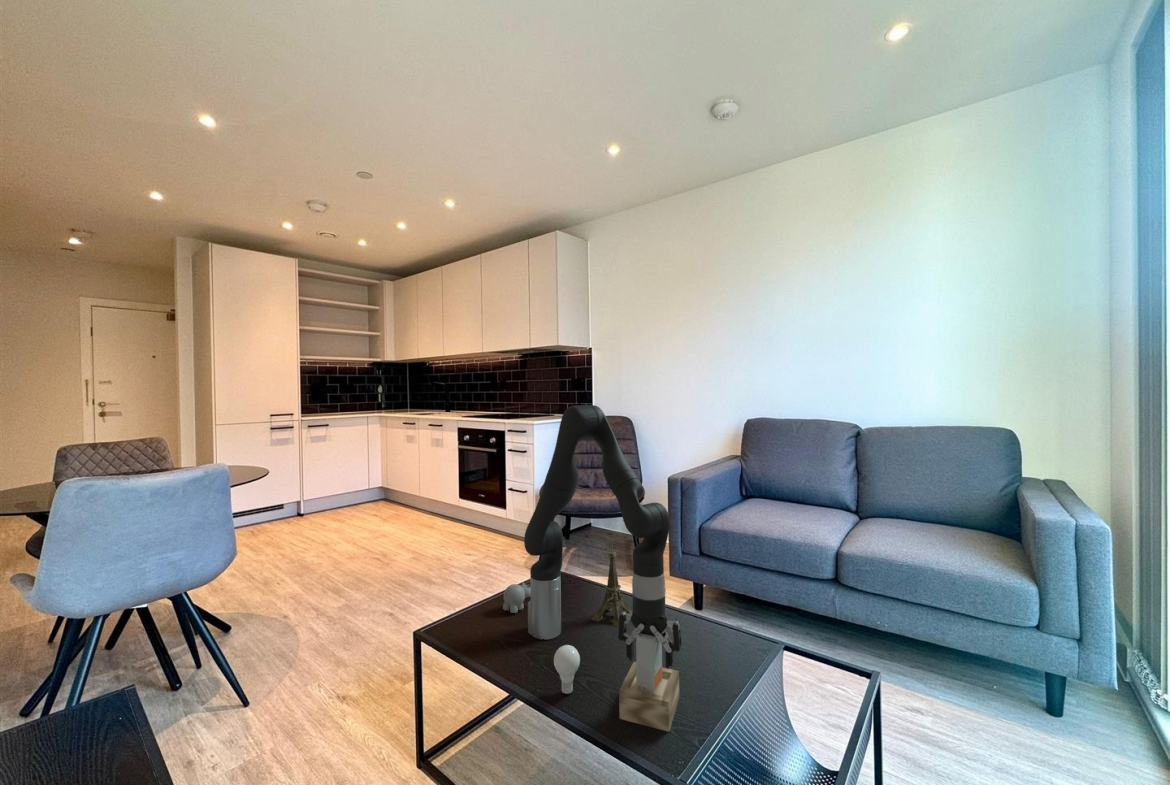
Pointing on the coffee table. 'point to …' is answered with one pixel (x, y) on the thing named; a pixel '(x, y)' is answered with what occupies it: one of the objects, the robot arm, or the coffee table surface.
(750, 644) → the coffee table surface
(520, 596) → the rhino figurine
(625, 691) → the wooden box
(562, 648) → the lightbulb
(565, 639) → the coffee table surface
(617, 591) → the eiffel tower
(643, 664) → the skincare box
